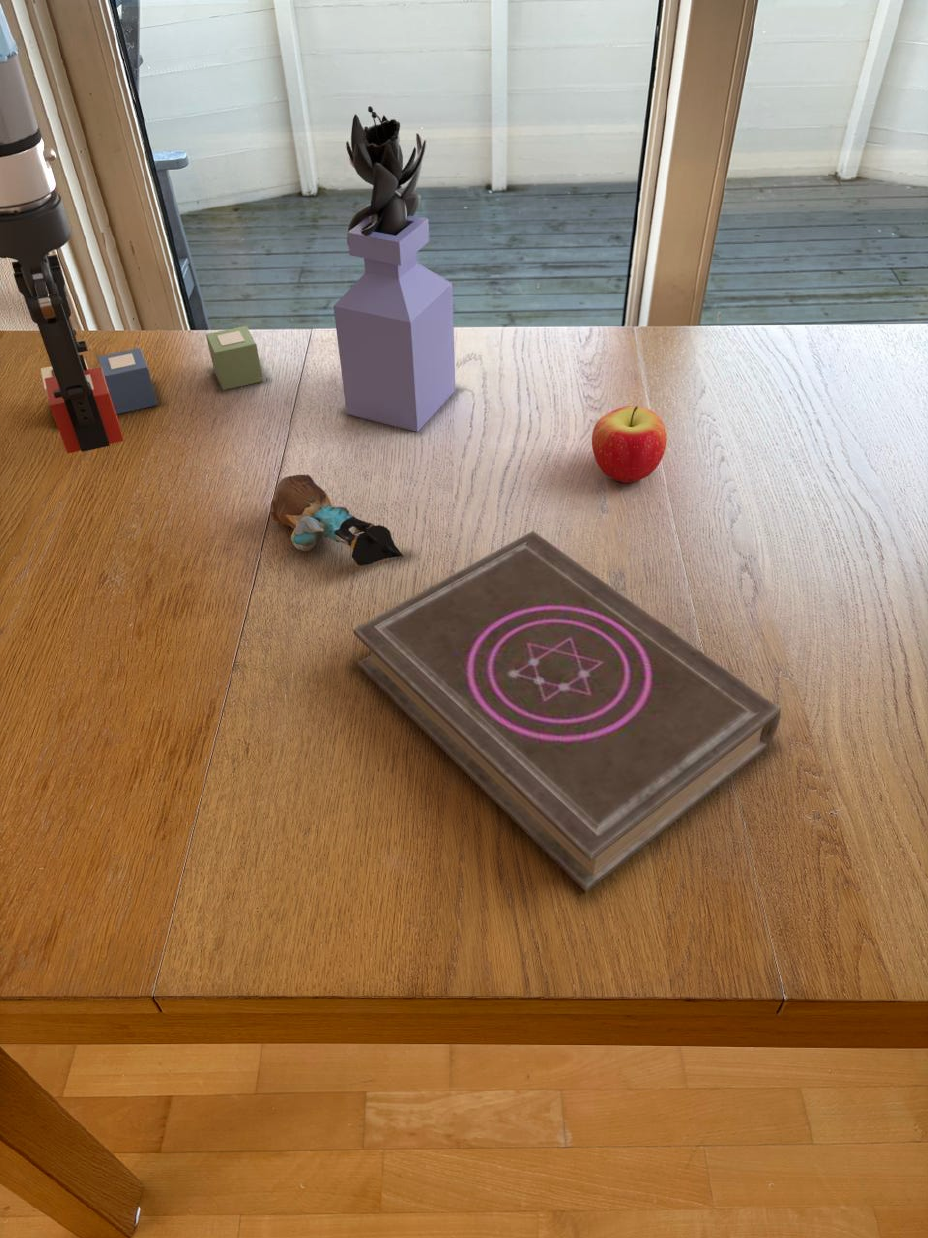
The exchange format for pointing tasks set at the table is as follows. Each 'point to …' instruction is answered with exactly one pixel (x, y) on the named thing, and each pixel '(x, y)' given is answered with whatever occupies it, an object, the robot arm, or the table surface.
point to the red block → (103, 404)
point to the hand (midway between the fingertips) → (91, 430)
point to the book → (566, 702)
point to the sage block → (234, 357)
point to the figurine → (327, 521)
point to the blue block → (128, 380)
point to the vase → (393, 293)
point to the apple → (629, 443)
